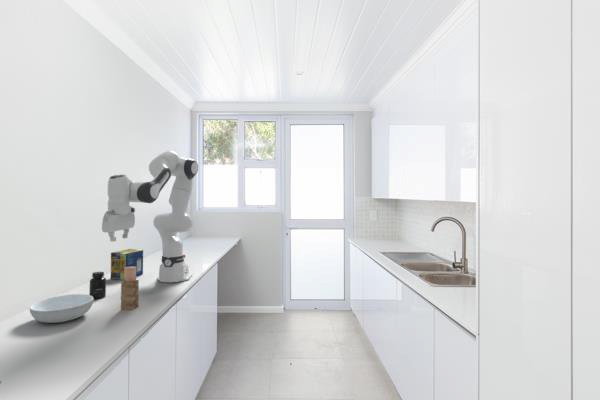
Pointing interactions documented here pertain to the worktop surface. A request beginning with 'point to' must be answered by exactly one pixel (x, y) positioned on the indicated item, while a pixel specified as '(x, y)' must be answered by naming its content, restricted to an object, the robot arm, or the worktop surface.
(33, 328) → the worktop surface
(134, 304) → the block bottom
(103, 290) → the supplement bottle
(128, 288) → the block top
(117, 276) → the protein box
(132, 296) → the block middle
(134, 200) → the robot arm
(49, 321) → the serving bowl
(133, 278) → the cylinder
